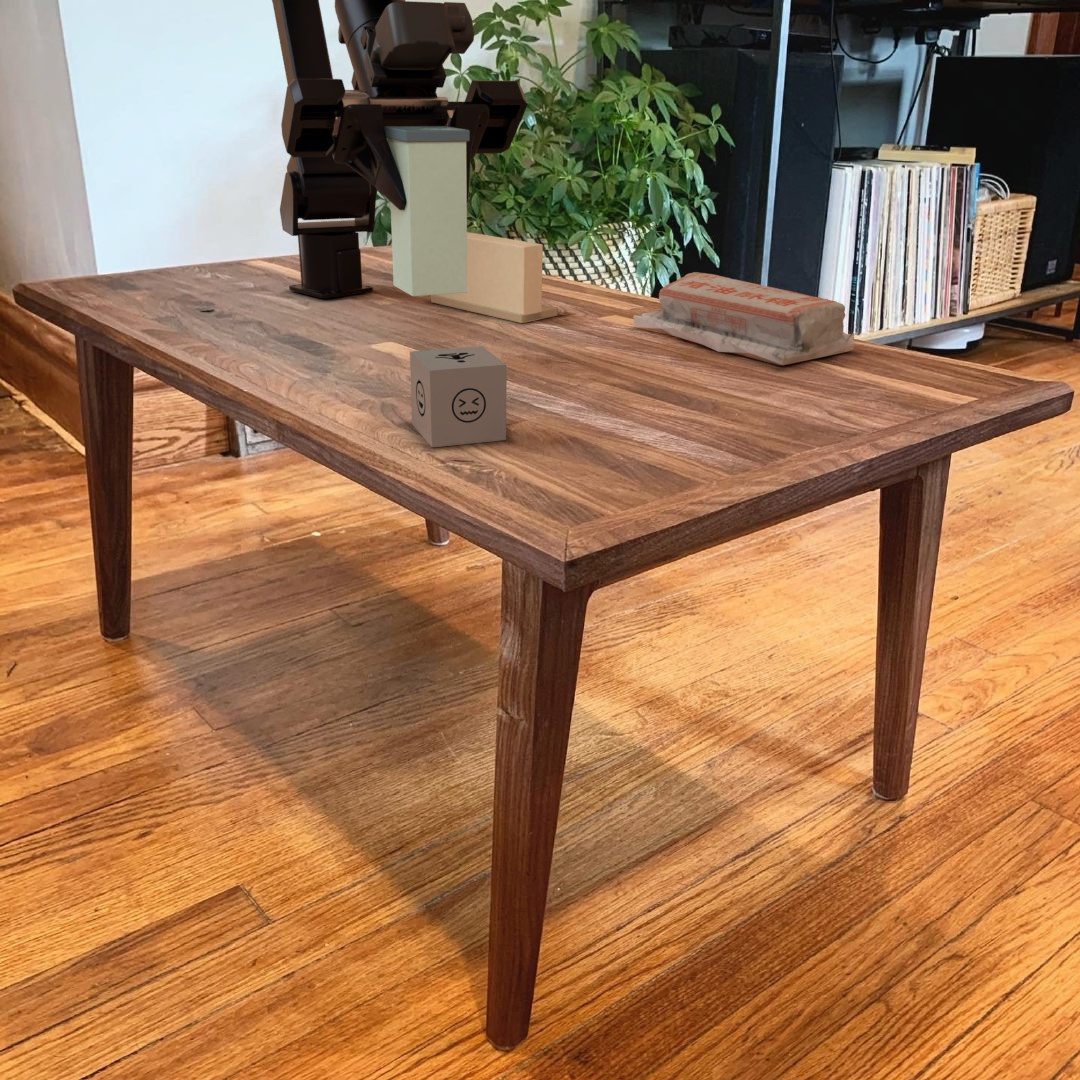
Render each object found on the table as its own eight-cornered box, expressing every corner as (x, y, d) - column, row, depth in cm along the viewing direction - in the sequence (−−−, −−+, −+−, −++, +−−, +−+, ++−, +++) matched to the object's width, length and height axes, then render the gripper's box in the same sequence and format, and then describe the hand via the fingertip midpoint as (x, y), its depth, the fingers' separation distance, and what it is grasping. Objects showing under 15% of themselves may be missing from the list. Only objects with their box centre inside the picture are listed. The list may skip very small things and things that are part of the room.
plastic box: (390, 285, 87) (384, 126, 82) (448, 281, 89) (445, 125, 84) (410, 297, 83) (405, 130, 78) (471, 292, 85) (469, 130, 80)
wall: (430, 302, 109) (428, 231, 107) (466, 295, 113) (466, 227, 110) (521, 323, 101) (522, 247, 98) (557, 315, 105) (559, 241, 102)
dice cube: (482, 417, 74) (482, 346, 72) (506, 439, 70) (506, 364, 68) (412, 424, 73) (409, 351, 71) (431, 447, 68) (429, 370, 66)
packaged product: (865, 296, 91) (789, 310, 85) (858, 352, 93) (782, 370, 87) (709, 265, 104) (633, 276, 98) (705, 315, 106) (630, 328, 100)
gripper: (277, -47, 76) (329, 131, 71) (519, -33, 83) (580, 129, 79) (262, 73, 85) (307, 236, 81) (480, 75, 93) (532, 225, 88)
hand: (434, 205), depth 82 cm, fingers closed on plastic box, 4 cm apart
